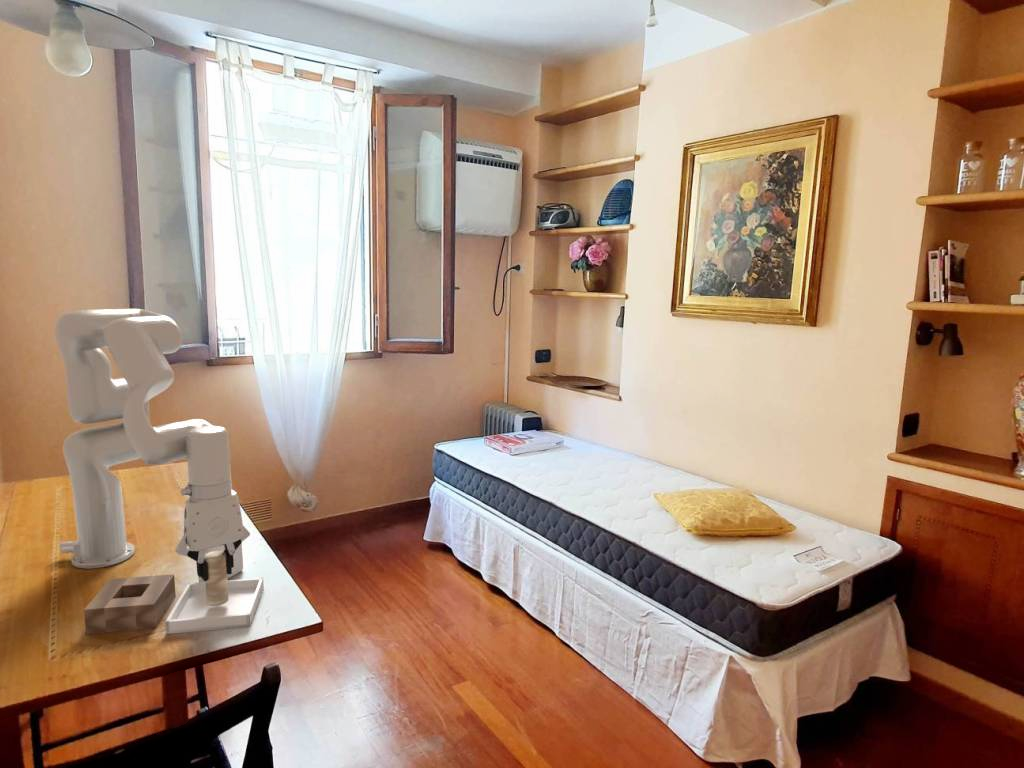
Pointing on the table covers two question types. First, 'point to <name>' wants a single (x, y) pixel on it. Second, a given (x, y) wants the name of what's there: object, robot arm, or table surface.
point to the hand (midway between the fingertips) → (216, 574)
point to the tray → (215, 607)
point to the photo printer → (236, 557)
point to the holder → (130, 604)
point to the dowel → (216, 578)
